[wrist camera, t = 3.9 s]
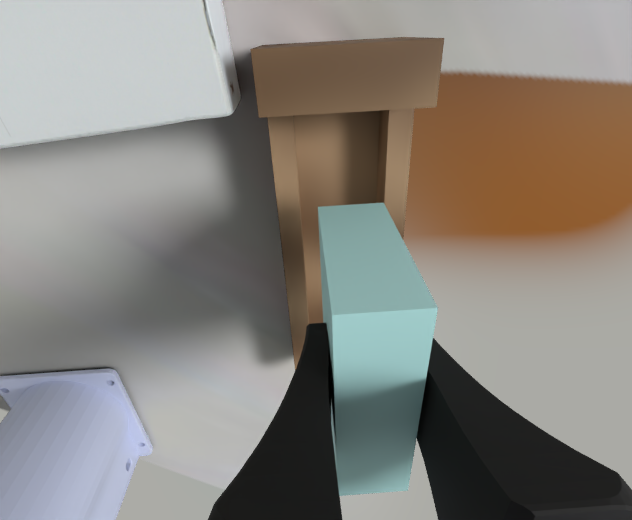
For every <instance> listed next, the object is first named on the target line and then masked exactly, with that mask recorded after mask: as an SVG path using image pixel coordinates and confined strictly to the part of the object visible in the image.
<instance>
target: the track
mask: <svg viewBox="0 0 632 520" xmlns="http://www.w3.org/2000/svg"><path fill="white" fill-rule="evenodd" d="M443 44H444V38H416V37H398V38H380V39H363V40H345V41H327V42H310V43H292V44H275V45H262V46H259V47H256V48H253V49H251V57H252V65H253V74H254V82H255V90H256V98H257V106H258V115H259V118H262V117H267V119H268V128H269V137H270V146H271V155H272V164H273V173H274V182H275V191H276V200H277V209H278V218H279V227H280V236H281V245H282V254H283V263H284V272H285V281H286V290H287V299H288V308H289V317H290V327H291V336H292V345H293V354H294V363H295V370H296V368H297V365H298V362H299V359H300V356H301V352H302V349H303V345H304V341H305V335H306V326H307V325H309V324H312V323H323V306H322V285H321V264H320V243H319V222H318V207H322V206H338V205H353V204H369V203H384V204H385V206H386V208H387V210H388V212H389V214H390V216H391V218H392V220H393V222H394V224H395V226H396V228H397V229H398V231H399V233H400V235H401V237H402V239H403V236H404V224H405V212H406V201H407V188H408V178H409V166H410V154H411V142H412V131H413V119H414V108H428V107H436V106H437V97H438V87H439V79H440V71H441V62H442V53H443Z"/></svg>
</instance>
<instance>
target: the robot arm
mask: <svg viewBox="0 0 632 520" xmlns="http://www.w3.org/2000/svg"><path fill="white" fill-rule="evenodd" d="M0 394H1V396H2V397H3V398H4V400H5V401H6V402H7V404H8V405H9V406H10V408H11V410H10V411H9V412H8V414H7V415H6V417H5V418H4V419H3V420H2V422H1V423H0V520H116V518H117V515H118V512H119V509H120V507H121V504H122V501H123V499H124V496H125V493H126V491H127V488H128V485H129V482H130V480H131V477H132V474H133V471H134V469H135V466H136V463H137V461H138V458H139V456H147V455H150V454H151V453H152V450H153V447H152V445H151V443H150V440H149V438H148V436H147V434H146V432H145V430H144V428H143V426H142V424H141V421H140V419H139V417H138V415H137V413H136V411H135V409H134V407H133V405H132V402H131V400H130V398H129V396H128V394H127V392H126V390H125V388H124V386H123V383H122V381H121V379H120V377H119V375H118V373H117V372H116V371H115V370H114V369H94V370H80V371H66V372H52V373H38V374H24V375H10V376H0ZM417 441H418V443H419V446H420V449H421V453H422V456H423V459H424V462H425V466H426V470H427V474H428V478H429V482H430V486H431V490H432V494H433V499H434V503H435V507H436V511H437V516H438V520H632V490H631V488H630V487H629V486H628V485H627V484H626V482H625V481H624V480H623V479H622V478H621V476H620V475H619V474H618V473H617V472H615V471H613V470H611V469H609V468H607V467H606V466H604V465H602V464H600V463H598V462H596V461H594V460H593V459H591V458H589V457H587V456H585V455H583V454H581V453H580V452H578V451H576V450H574V449H573V448H571V447H569V446H567V445H566V444H564V443H563V442H561V441H559V440H557V439H556V438H554V437H553V436H551V435H549V434H548V433H546V432H545V431H543V430H541V429H540V428H538V427H537V426H535V425H534V424H532V423H531V422H529V421H528V420H527V419H525V418H523V417H522V416H521V415H519V414H518V413H516V412H515V411H513V410H512V409H511V408H509V407H508V406H507V405H505V404H504V403H503V402H501V401H500V400H499V399H498V398H496V397H495V396H494V395H492V394H491V393H490V392H489V391H488V390H486V389H485V388H484V387H483V386H482V385H480V384H479V383H478V382H477V381H476V380H475V379H474V378H473V377H472V376H471V375H469V374H468V373H467V372H466V371H465V370H464V369H463V368H462V367H461V366H460V365H459V364H458V363H457V362H456V361H455V360H454V359H453V358H452V357H451V356H450V355H449V354H448V353H447V352H446V351H445V350H444V349H443V348H442V347H441V346H440V345H439V344H438V343H437V341H436V340H435V339H434V338H433V341H432V347H431V353H430V359H429V365H428V371H427V377H426V383H425V389H424V395H423V401H422V407H421V413H420V419H419V426H418V432H417ZM208 520H342V514H341V506H340V497H339V489H338V480H337V472H336V463H335V454H334V445H333V435H332V426H331V382H330V357H329V338H328V331H327V324H326V323H312V324H309V325H307V326H306V335H305V341H304V345H303V349H302V352H301V356H300V359H299V362H298V365H297V368H296V370H295V373H294V376H293V378H292V380H291V383H290V385H289V388H288V390H287V392H286V395H285V397H284V399H283V401H282V403H281V405H280V407H279V409H278V411H277V413H276V415H275V417H274V418H273V420H272V422H271V424H270V425H269V427H268V429H267V431H266V432H265V434H264V436H263V437H262V439H261V441H260V442H259V444H258V445H257V447H256V448H255V450H254V451H253V453H252V454H251V456H250V457H249V459H248V460H247V461H246V463H245V464H244V466H243V467H242V469H241V470H240V472H239V473H238V474H237V476H236V477H235V478H234V479H233V481H232V482H231V483H230V484H229V486H228V487H227V488H226V490H225V491H224V492H223V493H222V495H221V496H220V497H219V498H218V500H217V501H216V502H215V504H214V506H213V509H212V511H211V513H210V516H209V518H208Z"/></svg>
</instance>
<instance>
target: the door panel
mask: <svg viewBox="0 0 632 520" xmlns="http://www.w3.org/2000/svg"><path fill="white" fill-rule="evenodd" d="M318 222H319V243H320V264H321V285H322V306H323V323H326V324H327V331H328V338H329V357H330V382H331V426H332V435H333V445H334V454H335V463H336V472H337V480H338V489H339V496H343V495H356V494H367V493H368V494H369V493H381V492H394V491H407V490H408V486H409V480H410V474H411V468H412V461H413V456H414V450H415V444H416V438H417V432H418V426H419V419H420V413H421V407H422V401H423V395H424V389H425V383H426V377H427V371H428V365H429V359H430V353H431V347H432V341H433V335H434V328H435V322H436V316H437V310H438V307H437V305H436V303H435V301H434V299H433V297H432V295H431V294H430V292H429V290H428V288H427V286H426V284H425V282H424V280H423V278H422V276H421V274H420V272H419V270H418V268H417V266H416V264H415V262H414V261H413V259H412V257H411V255H410V253H409V251H408V249H407V247H406V245H405V243H404V241H403V239H402V237H401V235H400V233H399V231H398V229H397V228H396V226H395V224H394V222H393V220H392V218H391V216H390V214H389V212H388V210H387V208H386V206H385V204H384V203H369V204H353V205H338V206H322V207H318Z"/></svg>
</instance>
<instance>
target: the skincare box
mask: <svg viewBox="0 0 632 520" xmlns="http://www.w3.org/2000/svg"><path fill="white" fill-rule="evenodd" d="M240 99H241V94H240V89H239V84H238V78H237V73H236V68H235V63H234V57H233V52H232V47H231V42H230V37H229V31H228V27H227V22H226V17H225V12H224V7H223V2H222V0H0V149H3V148H10V147H17V146H24V145H31V144H38V143H45V142H52V141H59V140H66V139H73V138H81V137H88V136H95V135H101V134H109V133H116V132H123V131H129V130H136V129H143V128H149V127H155V126H162V125H168V124H174V123H179V122H184V121H190V120H199V119H208V118H218V117H226V116H229V115H231V114H232V113H233V112H234V111H235V110H236V108H237V106H238V104H239V102H240Z"/></svg>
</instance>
